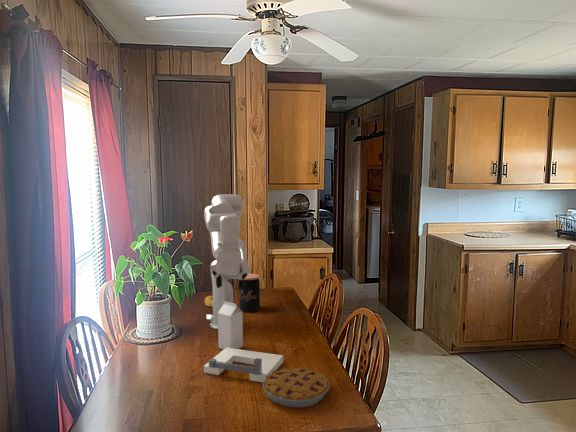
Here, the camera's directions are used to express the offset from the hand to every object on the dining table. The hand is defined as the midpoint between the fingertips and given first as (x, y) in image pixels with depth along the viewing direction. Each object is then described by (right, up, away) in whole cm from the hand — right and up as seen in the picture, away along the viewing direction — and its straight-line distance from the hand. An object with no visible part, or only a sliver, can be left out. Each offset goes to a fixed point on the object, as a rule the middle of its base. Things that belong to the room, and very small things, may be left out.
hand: (230, 288), depth 183 cm
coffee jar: (+3, -20, +53) cm, 57 cm away
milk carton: (0, -25, +3) cm, 25 cm away
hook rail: (+5, -25, -23) cm, 35 cm away
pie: (+26, -29, -34) cm, 52 cm away
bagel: (-17, -19, +61) cm, 67 cm away
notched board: (+7, -27, -15) cm, 32 cm away
